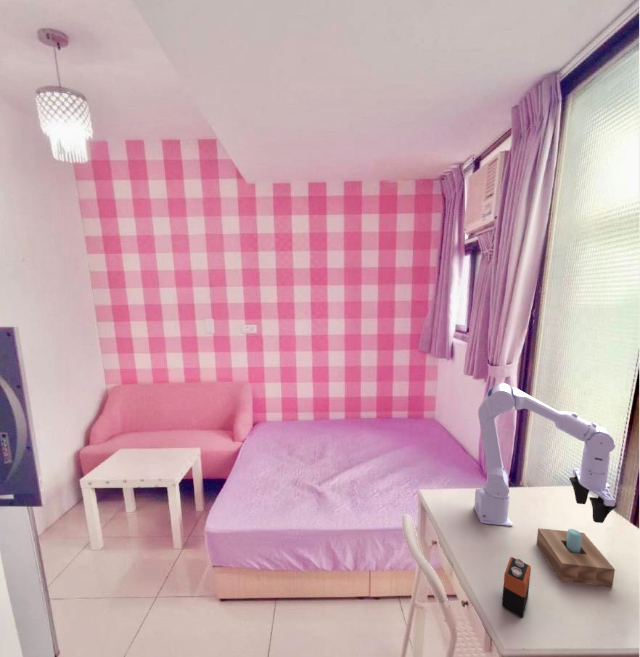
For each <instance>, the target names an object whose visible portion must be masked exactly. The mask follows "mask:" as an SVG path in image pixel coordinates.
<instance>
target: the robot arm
mask: <svg viewBox="0 0 640 657" xmlns="http://www.w3.org/2000/svg"><path fill="white" fill-rule="evenodd" d="M513 408H514V410H515V411H519V410H523V409H524V410H525V409H526V410H528V411H529V412H533V413H534V414H536V415H539V416H541V417H543V418H545V419H547V420H550V421H551V422H554V423H553V424H554V425H555V428H556V429H557V430H560V431H561V432H564V433H565V434H568V435H569V436H571V437H573V438H575V439H576V440H578V441H581V442H584V446H583V450H582V457H581V459H582V460H581V467H580V468H572V475H573V476H574V477H573V476H570V477H569V481H570V482H571V486H572V489H573V493H574V497H575V502H576V504H578V505H586V503H587V501H588V499H589V500H590V504H591V507H592V520H593V522H594V523H597V524H598V523H599V524H603V523H605V522H604V521H605V520H606V518H607V517H608V515H609V514H610V513H611V512H612V511H613V510H614V509H616V508H618V504H617V503H616V499H615V498H614V497H613V496H612V494H611V492H610V490H609V489H610V488H611V485H610V484H609V483H608V482H607V481H608V474H609V468H610V460H611V459H610V455H611V454H610V453H611V452H612V451H614V450H615V447H616V444H615V441H614V438H613V437H612V436H611V434H610V433H609V431H608V430H607V429H606V428H605V427H604V426H602V425H601V424H598V423H595V422H589V421H588V420H585V419H583V418H581V417H579V414H578V413H576V412H574V411H572V412H569V411H567V410H564V411H559V410H557V409H555V408H553V407H551V406H549V405H548V404H546V403H544V402H542V401H540V400H539V399H537V398H535V397H533V396H531V395H529V394H528V393H526V392H524V391H522V390H520V389H519V388H517V387H515V386H510V385H509V384H507V383H505V382H498V383H496V384H494V385H493V386H491V387H490V388H489V389H488V391H487V392H486V395H485V396H484V398H483V400H482V402H481V403H480V405H479V406H478V410H477V411H478V413H477V415H478V420H479V426H480V432H481V437H482V438H481V439H482V443H483V444H482V445H483V450H484V455H485V461H486V462H485V463H486V474H487V476H486V484H485V485H484V487H481V488H476V489H475V492H474V505H473V509H474V510H475V513H476V514H477V517H478V519H479V522H480V523H481V524H486V525H487V524H488V525H497V526H508V527H512V526H514V524H513V522H512V521H511V519H510V517H509V504H510V494H511V493H510V487H509V474H508V473H509V472H508V471H507V470H506V469H505V467H504V462H503V458H502V457H503V456H502V451H501V446H500V440H499V433H498V428H497V421H496V417H498V416H499V415H501V414H503V413H505V412H508V411H510V410H512V409H513ZM590 492H591V493H593V494H595V495H596V496H597V497H593V496H592V497H591V496H589V493H590ZM588 497H589V498H588Z"/></svg>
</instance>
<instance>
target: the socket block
mask: <svg viewBox="0 0 640 657" xmlns="http://www.w3.org/2000/svg"><path fill="white" fill-rule="evenodd" d="M579 532H580V531H579ZM580 533H581V534H582V541H581V549H580V554H578V553H570V552H569V551H568V550H567V548H566V544H567V535H568V530H560V529H559V530H558V529H550V528H549V529H548V528H539V527H538V528H537V534H536V545H537V546H538V549H540V551H541V553H542V554H543V556H544V557H545V559H546V561H547V562H548V564H549V565H550V567H551V569H552V570H553V571H554V573H555V575H556V577H557V578H558V580H559V581H562V582H563V581H564V582H568V583H569V582H570V583H571V582H572V583H578V584H587V585H594V586H596V585H597V586H602V587H610V588H612V587H613V584H614V580H615V579H614V578H615V572H616V571H615V570H616V569H615V567H613V565H612V564H611V563H610V562H609V561H608V559H607V558H606V557H605V556H604V554H603V553H602V552H601V551H600V550H599V549H598V548H597V546H596V545H595V544H594V543H593V541H591V540H590V538H589V537H588V536H587V535H586V533H584V532H582V531H581V532H580Z"/></svg>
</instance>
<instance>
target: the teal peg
mask: <svg viewBox="0 0 640 657" xmlns="http://www.w3.org/2000/svg"><path fill="white" fill-rule="evenodd" d="M567 531H568V535H567V544H566V548H567V550H568V551H569V552H570V553H578V554H580V549H581V541H582V534H581V533H582V532H581V533H580V531H578V530H576V529H573V528H569V529H568V530H567Z"/></svg>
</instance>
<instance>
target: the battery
mask: <svg viewBox="0 0 640 657" xmlns="http://www.w3.org/2000/svg"><path fill="white" fill-rule="evenodd" d="M531 570H532V568H531V565H529V564H528V563H526V562H524V561H523V560H522V559H519V558H516V557H514V556H510V558H509V560H508V563H507V565H506V568H505V571H504V576H503V585H502V586H503V587H502V597H501V599H502V600H501V606H502V608H504V609H505V610H507V611H508V612H511V613H512V614H514V615H516V616H518V617H519V618H521V619H522V618H523V617H524V614H525V611H526V608H527V607H526V606H527V603H528V599H529V591H530V580H531V579H530V578H531Z"/></svg>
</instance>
